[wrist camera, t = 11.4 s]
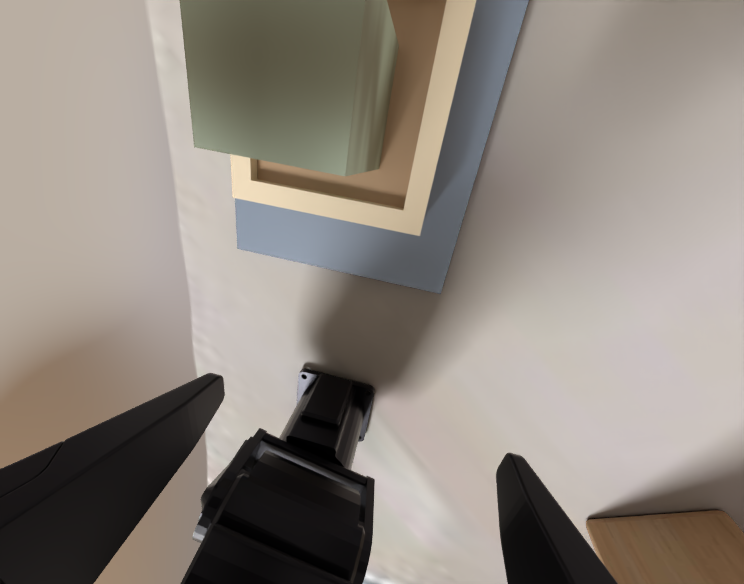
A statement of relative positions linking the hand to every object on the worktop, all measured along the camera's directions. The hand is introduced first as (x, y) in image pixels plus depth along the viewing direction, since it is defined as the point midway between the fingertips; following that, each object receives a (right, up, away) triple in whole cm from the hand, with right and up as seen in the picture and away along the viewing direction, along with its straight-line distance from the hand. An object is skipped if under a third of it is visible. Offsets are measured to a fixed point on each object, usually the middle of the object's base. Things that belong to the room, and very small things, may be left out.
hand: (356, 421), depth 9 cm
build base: (0, +14, +7) cm, 16 cm away
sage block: (-1, +12, +4) cm, 13 cm away
